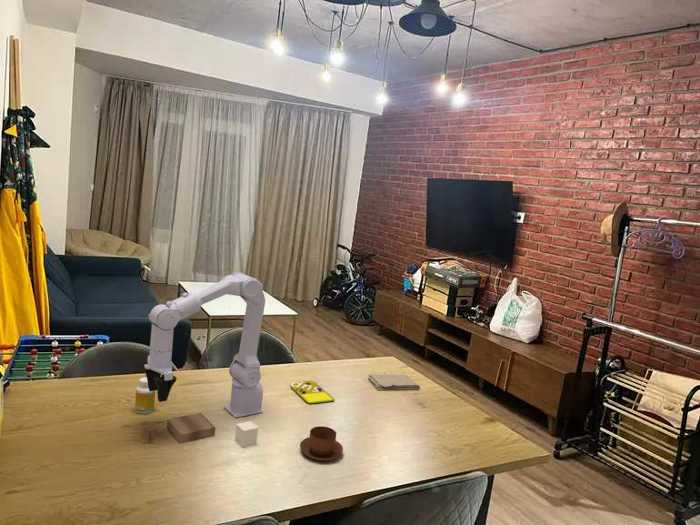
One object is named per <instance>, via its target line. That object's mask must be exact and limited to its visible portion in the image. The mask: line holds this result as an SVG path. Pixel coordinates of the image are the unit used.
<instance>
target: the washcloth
mask: <svg viewBox="0 0 700 525" xmlns="http://www.w3.org/2000/svg"><path fill="white" fill-rule="evenodd" d="M367 380H368V381H369V383H370V384H371V385H372V386H373V387H374V388H375V390H377V391H381V392H382V391H383V392H396V391H398V392H401V391H403V392H404V391H405V392H406V391H409V392H410V391H418V390H420V389H421V386H420V385H419V384H418V383H417V382H415V381H413V379H411V378H410V376H408V375H407V374H394V373H393V374H392V373H391V374H373V373H371V374H368V377H367Z"/></svg>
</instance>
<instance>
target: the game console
mask: <svg viewBox="0 0 700 525" xmlns="http://www.w3.org/2000/svg"><path fill="white" fill-rule="evenodd" d="M289 386H290V387H289V388H290V390H292V391H293V392H294V393H295V394H296V395H297V396H298V397H299V398H300V399H301V400H302V401H303V402H304V403H305V404H306V405H310V406H312V405H321V404H329V403H334V402H335V398H334V397H333V396H332V395H331V394H330V393H328V392H327V391H326V390H325V389H324V388H323V387H322V386H321V385H319V384H318V383H317V382H316V381H314V380H307V381H306V380H305V381H294V382H292V383H290V385H289Z"/></svg>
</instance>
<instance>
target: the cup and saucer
mask: <svg viewBox="0 0 700 525" xmlns="http://www.w3.org/2000/svg"><path fill="white" fill-rule="evenodd" d="M299 447H300V451H301V452H302V453H303V454H304V455H305V456H306V457H308V458H311V459H313V460H314V461H315V460H316V461H324V462H325V461H326V462H327V461H333V460H335V459H337V458H339V457H340V456H341V455H342V453H343V452H344V451H343V450H344V447H343V445H342V444H341V443H340V442H339V441H337V432H336V430H335V429H333V428H331V427H328V426H322V425H321V426H315V427H312V428H311V429H310V432H309V437H306V438H304V439H303V440H301V442H300V443H299Z"/></svg>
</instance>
